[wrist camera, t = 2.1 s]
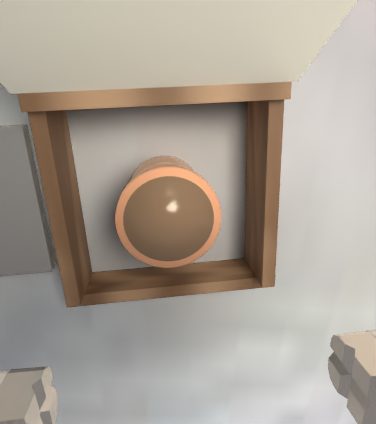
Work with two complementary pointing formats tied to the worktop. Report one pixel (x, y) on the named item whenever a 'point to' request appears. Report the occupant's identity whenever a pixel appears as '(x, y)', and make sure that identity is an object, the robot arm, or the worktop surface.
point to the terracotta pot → (167, 213)
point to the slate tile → (21, 208)
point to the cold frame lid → (160, 42)
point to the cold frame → (158, 276)
